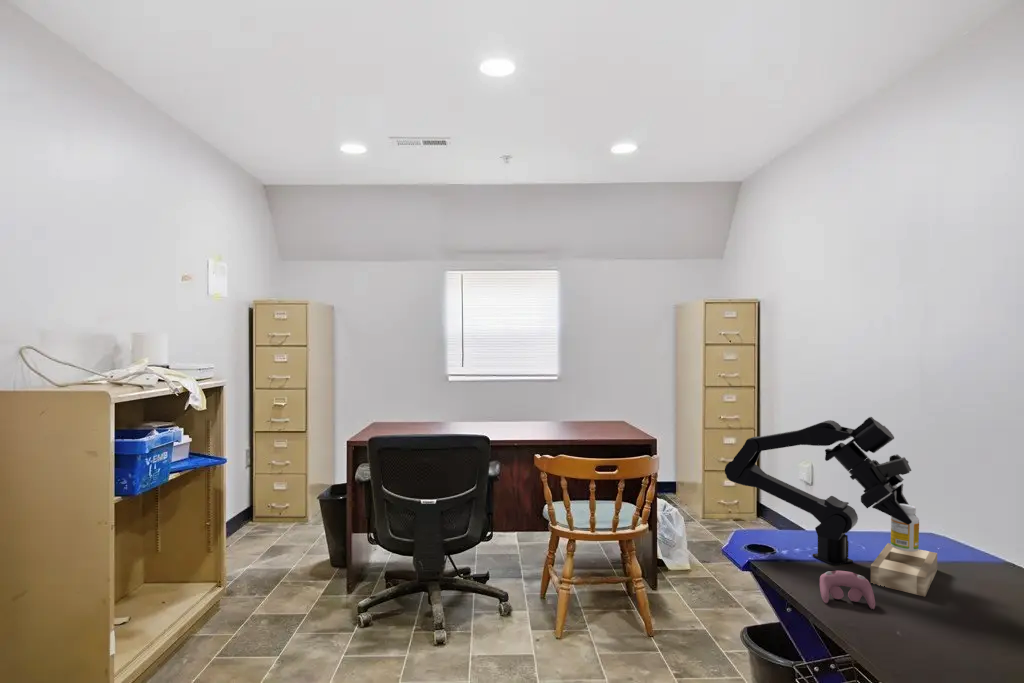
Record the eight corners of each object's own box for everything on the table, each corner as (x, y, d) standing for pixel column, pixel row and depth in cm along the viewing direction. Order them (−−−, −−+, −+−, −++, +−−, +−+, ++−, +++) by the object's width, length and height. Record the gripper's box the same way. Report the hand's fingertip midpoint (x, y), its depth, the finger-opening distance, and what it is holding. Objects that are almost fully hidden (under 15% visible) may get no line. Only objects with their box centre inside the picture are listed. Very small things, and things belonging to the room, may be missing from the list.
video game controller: (872, 611, 120) (868, 575, 123) (878, 609, 116) (874, 572, 119) (818, 604, 123) (816, 568, 126) (822, 602, 119) (820, 566, 122)
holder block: (870, 583, 130) (870, 565, 130) (887, 559, 145) (887, 543, 145) (925, 596, 123) (925, 577, 123) (937, 569, 138) (937, 553, 138)
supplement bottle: (910, 544, 137) (911, 503, 137) (923, 552, 131) (924, 509, 131) (885, 543, 137) (886, 501, 137) (898, 551, 132) (899, 508, 132)
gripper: (878, 449, 130) (938, 509, 122) (894, 439, 144) (948, 493, 136) (838, 478, 135) (893, 537, 128) (856, 466, 149) (907, 519, 142)
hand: (912, 520), depth 133 cm, fingers closed on supplement bottle, 5 cm apart
